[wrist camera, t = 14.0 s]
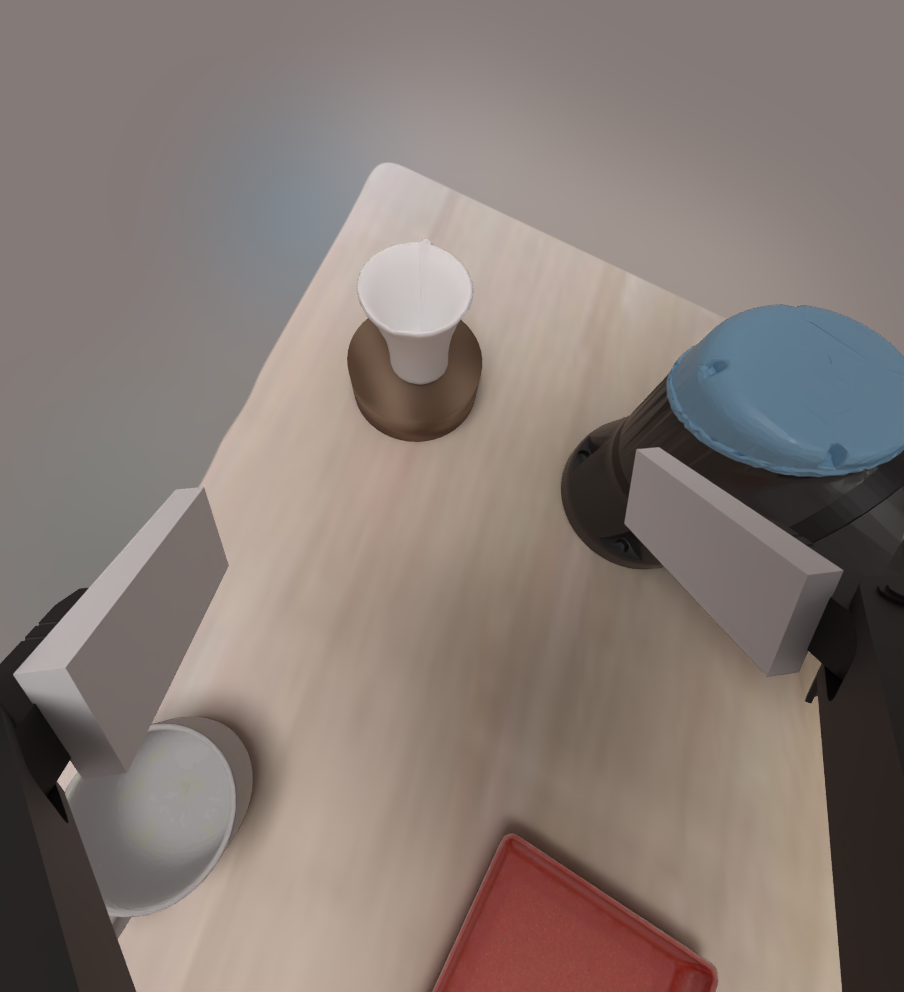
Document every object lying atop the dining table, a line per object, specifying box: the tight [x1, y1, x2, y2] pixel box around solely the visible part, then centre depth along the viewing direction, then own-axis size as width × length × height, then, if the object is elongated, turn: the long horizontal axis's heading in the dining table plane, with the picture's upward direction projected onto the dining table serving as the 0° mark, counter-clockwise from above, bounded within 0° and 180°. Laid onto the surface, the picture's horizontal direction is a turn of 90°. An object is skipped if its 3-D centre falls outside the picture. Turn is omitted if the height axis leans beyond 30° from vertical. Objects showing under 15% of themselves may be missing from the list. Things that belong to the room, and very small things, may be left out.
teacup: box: [65, 717, 253, 939], centre depth 33 cm, size 14×11×8 cm
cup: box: [357, 238, 473, 385], centre depth 40 cm, size 9×9×10 cm
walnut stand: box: [347, 318, 482, 442], centre depth 47 cm, size 13×13×5 cm
